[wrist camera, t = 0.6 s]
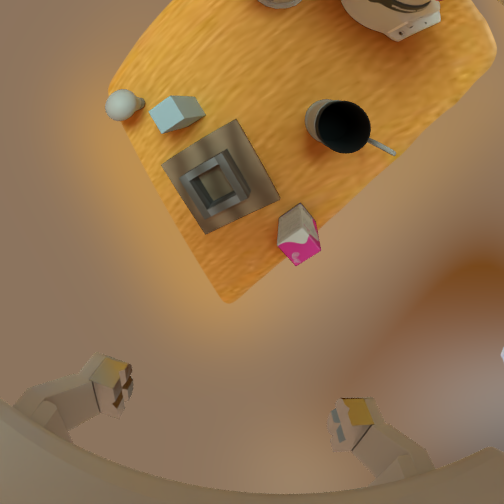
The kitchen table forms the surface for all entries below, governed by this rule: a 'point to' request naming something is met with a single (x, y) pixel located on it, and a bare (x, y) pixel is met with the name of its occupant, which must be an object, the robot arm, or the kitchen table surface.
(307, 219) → the supplement box
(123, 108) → the lightbulb
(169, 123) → the peg
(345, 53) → the kitchen table surface
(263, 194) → the socket
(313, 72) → the kitchen table surface
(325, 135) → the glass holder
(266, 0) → the french press
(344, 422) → the robot arm
